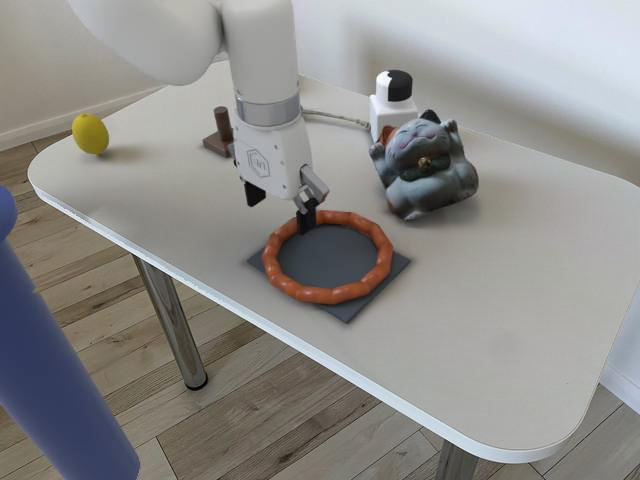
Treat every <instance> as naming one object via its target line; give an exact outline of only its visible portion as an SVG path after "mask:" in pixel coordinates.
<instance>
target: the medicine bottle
mask: <svg viewBox="0 0 640 480" xmlns="http://www.w3.org/2000/svg"><path fill="white" fill-rule="evenodd" d="M413 81H414V79H413V77H412V75H411V74H410V73H408V72H407V71H404V70H400V69H389V70H385V71H382V72H381V73H379V74H378V75H377V76H376V82H375V84H376V85H375V86H376V88H375V94H370V96H369V124H370V123H371V129H370V131H369V132H370V135H371V137H372V141H373V144H374V143H375V142H376V141H377V140H378V139H379V137H380V134H381V132H382V127H383V126H385V125H391V126H393V127H397V128H398V127H399V126H400V125H402V124H404V123H407V122H408V121H409V120H411V119H417V118H419V108H418V107H417V105H416V103H415V101H414V99H413V83H414V82H413Z"/></svg>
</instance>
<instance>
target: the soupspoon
mask: <svg viewBox="0 0 640 480" xmlns="http://www.w3.org/2000/svg"><path fill="white" fill-rule="evenodd" d="M300 106H301V114H304V115H315V116H316V115H317V116H321V117H322V116H323V117H329V118H334V119H338V120H344V121H348V122H352V123H353V122H354V123H355V124H356V125H358V124H359V125H360V126H362V127H364V128H366V129H368V131H369V132H371V131H370V129H371V123H370V121H364V120H360V119H359V118H357V119H356V118H352V117H350V116H349V117H348V116H344V115H339V114H335V113H330V112H329V113H328V112H323V111H318V110H308V109H303V106H302V104H300Z"/></svg>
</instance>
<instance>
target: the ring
mask: <svg viewBox="0 0 640 480" xmlns="http://www.w3.org/2000/svg"><path fill="white" fill-rule="evenodd" d="M316 221H317V223H316V225H320V224H336V225H344V226H348V227H349V226H350V227H351V228H354V229H356V230H357V231H358V232H361V233H363V234H364V235H367V236H369V239H371V240H372V241H373V242H374V244H375V245H376V247H377V249H378V255H377V261H376V266H375V267H374V268H373V269H372V270H371V271H369V272H368V273H367V274H366V275H365V276H364V277H363V278H362V279H361V280H360V281H357V282H354V283H350V284H347V285H343V286H340V287H337V288H333V289H329V288H319V287H309V286H303V285H301V284H299V283H298V282H296V281H294V280H293V279H291V278H289V277H288V276H286V275H284V274H283V272H282V270H281V267H280V265H279V263H278V260H277V257H278V254H279V251H280V249H281V246H282V243H283V242H285V241H286V240H287V239H288V238H290V237H291V236H292V235H294V234H295V233H296V232H298V231H297V220H296V216H293V217H292V218H290V219H289V220H287V222H285V223H284V224H282V225H281V226H279V227H278V228H277V229H276V230H274V231H273V232H271V233H270V234H269V238H268V240H267V242H266V244H265V246H266V247H265V246H264V247H265V250H264V253H263V255H262V263H263V265H264V268H265V270H266V273H267V274H266V276H267V278H268V281H269V283H270V284H271V286H273V287H275V288H276V289H278V290H280V291H281V292H282V293H284V294H286V295H287V296H289V297H291V298H292V299H294V300H295V301H297V302H303V303H312V304H314V303H321V304H331V305H334V304H338V303H341V302H345V301H348V300H351V299H354V298H358V297H361V296H364V295H367V294H369V293H370V292H371V291H372V290H373V289H374V288H375V287H376V286H377V285H378V284H379V283H380V282H381V281H382V280H383V279H384V278H385V277H386V276H387V275H388V274H389V273H390V268H391V261H392V254H393V251H394V245H393V244H392V242H391V241H390V239H389V237H388V236H387V235H386V233H385V231H384V230H383V228H382V227H381V226H380V225H379V224H378V223H376V222H375V221H372V220H370V219H368V218H366V217H364V216H362V215H360V214H358V213H356V212H353V211H343V210H329V209H321V210H320V209H319V210H316Z"/></svg>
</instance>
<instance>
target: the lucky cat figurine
mask: <svg viewBox="0 0 640 480" xmlns="http://www.w3.org/2000/svg"><path fill="white" fill-rule="evenodd" d="M457 122H458V121H456V120H455V119H454V118H449V119H447V120H444V121H442V120H441V119H440V117H439V116H438V115H437V112H436V111H434V110H433V109H430V108H428V109H426V110H424V112H423V113H422V114H421V115H420V116H418V118H417V119H411V120H409V121H408V122H407V123H404V124H402V125H400V126H399V127H398V128H397V127H393V126H391V125H385V126H383V127H382V132H381V134H380V137H379V139H378V140H377V141H376V142H375V143H374V142H373V144H372V145H371V146H370V147H369V148H368V156H369V157H370V159H371V161H372V163H373V166H374V170H375V171H376V172H377V175H378V177H379V180H380V182H381V184H382V186H383V189H384V191H385V192H384V193H385V195H386V203H387V207H388V209H389V210H390V212H391V213H393V214H394V215H396V216H398V217H399V218H400V219H401V220H403V221H408V220H414V219H417V218H420V217H422V216H424V215H426V214H429V213H431V212H434V211H437V210H440V209H443V208H446V207H450V206H453V205H456V204H459V203H461V202H463V201H466V200H467V199H469V198H472V197H473V196H475V194H476V193H477V191H478V190H479V182H480V181H479V179H480V178H479V174H478V171H477V168H476V167H475V166H474V165H473V163H472V162H470V161H469V160H468V159H467V157H466V155H465V153H466V152H465V150H464V147H465V146H464V145H463V141H462V139H461V136H460V134H459V128H458V127H459V126H458V123H457Z"/></svg>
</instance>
